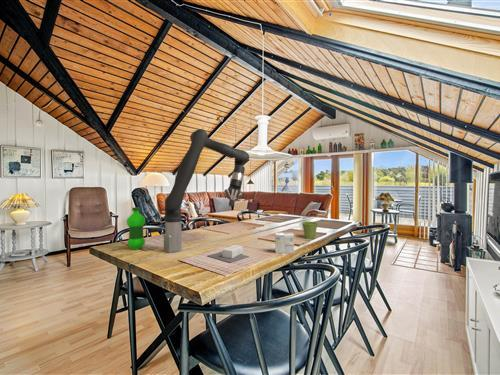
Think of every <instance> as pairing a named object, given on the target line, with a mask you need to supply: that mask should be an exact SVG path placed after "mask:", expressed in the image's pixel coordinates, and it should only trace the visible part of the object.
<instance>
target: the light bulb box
mask: <svg viewBox="0 0 500 375" xmlns="http://www.w3.org/2000/svg"><path fill="white" fill-rule="evenodd" d="M274 237H275V248H274V249H275V254H293V255H294V254H295V235H294V232H275V235H274Z"/></svg>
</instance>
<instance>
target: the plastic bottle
mask: <svg viewBox="0 0 500 375" xmlns="http://www.w3.org/2000/svg"><path fill="white" fill-rule="evenodd" d="M131 209H132V212H133V213H132V214H130V216H128V217H127V219H126V225H127V226H128V240H127V246H128V248H130V249H131V250H140V249H141V248H142V247H144V245H145V243H146V239H145V237H144V225H145V224H146V217H145V216H143V215H142V213H140V211H141V207H140V206H139V207H137V206H136V207H132V208H131Z"/></svg>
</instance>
